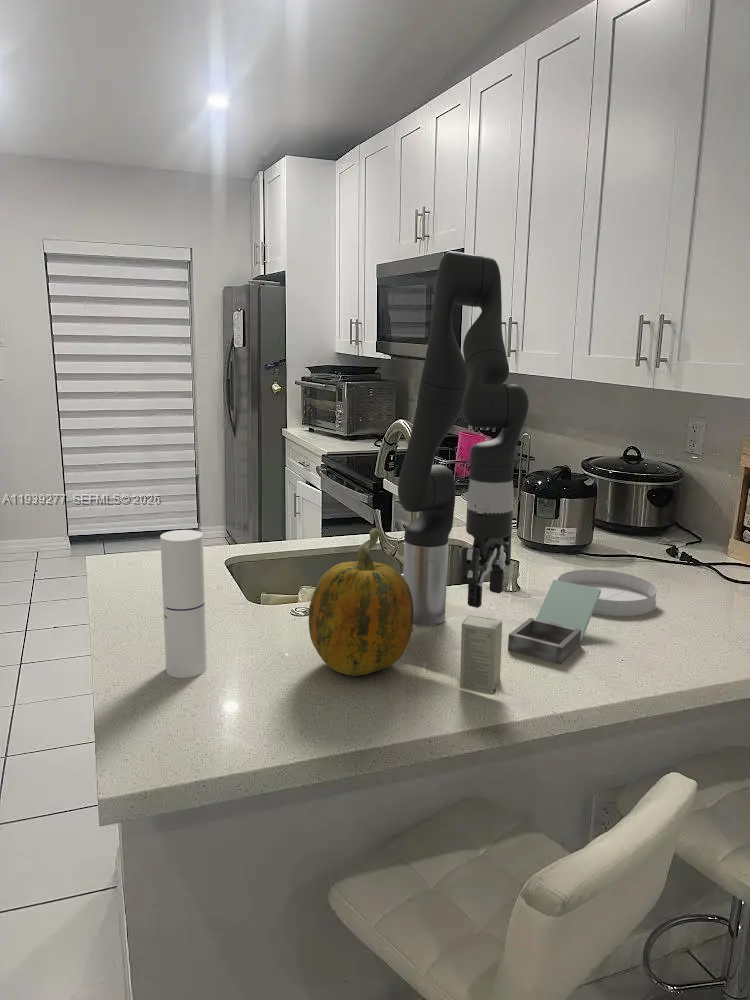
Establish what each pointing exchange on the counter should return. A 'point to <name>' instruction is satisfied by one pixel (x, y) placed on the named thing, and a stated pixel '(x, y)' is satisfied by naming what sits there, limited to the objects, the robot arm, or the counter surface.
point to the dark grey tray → (542, 649)
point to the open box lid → (569, 605)
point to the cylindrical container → (184, 603)
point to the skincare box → (480, 654)
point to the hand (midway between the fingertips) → (485, 599)
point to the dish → (616, 591)
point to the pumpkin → (361, 614)
